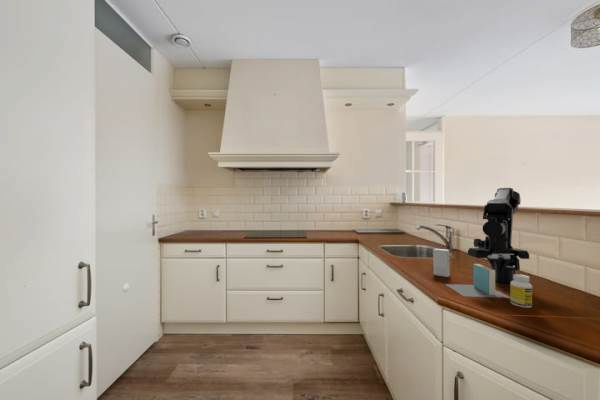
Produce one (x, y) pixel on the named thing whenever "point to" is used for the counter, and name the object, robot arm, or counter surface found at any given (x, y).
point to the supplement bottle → (521, 291)
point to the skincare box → (441, 262)
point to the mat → (474, 291)
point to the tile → (484, 279)
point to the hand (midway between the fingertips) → (497, 276)
